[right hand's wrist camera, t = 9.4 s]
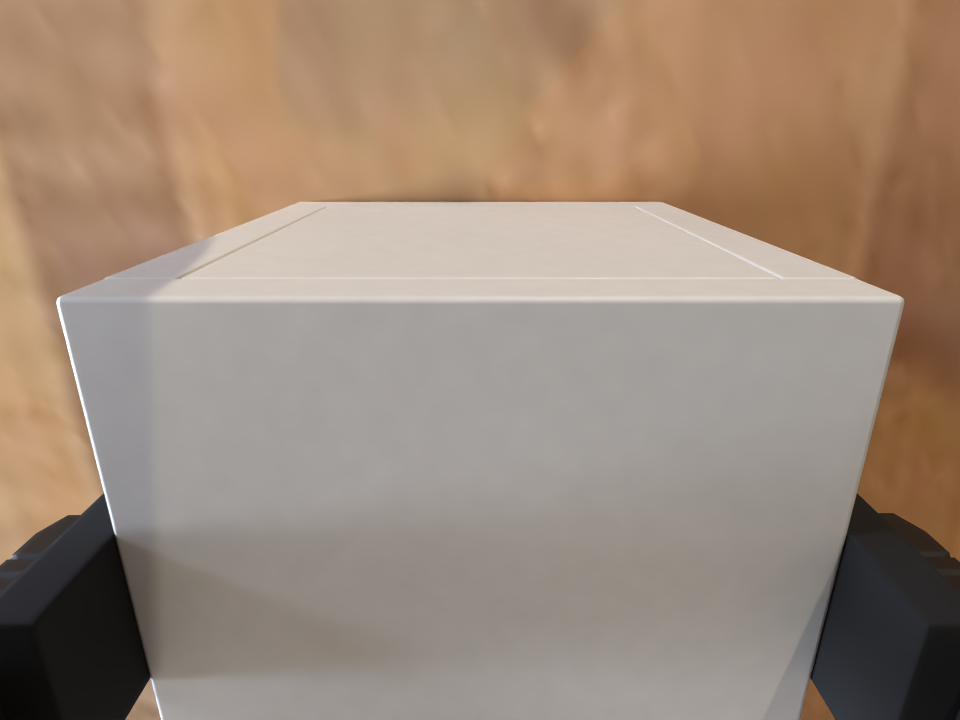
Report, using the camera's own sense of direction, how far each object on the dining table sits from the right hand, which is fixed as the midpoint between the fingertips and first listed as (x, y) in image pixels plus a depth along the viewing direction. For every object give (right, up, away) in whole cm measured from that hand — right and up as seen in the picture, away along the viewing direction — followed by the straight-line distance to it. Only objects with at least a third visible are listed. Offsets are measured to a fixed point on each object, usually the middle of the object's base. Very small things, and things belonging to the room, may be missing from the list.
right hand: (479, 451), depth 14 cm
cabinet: (0, -4, +8) cm, 8 cm away
